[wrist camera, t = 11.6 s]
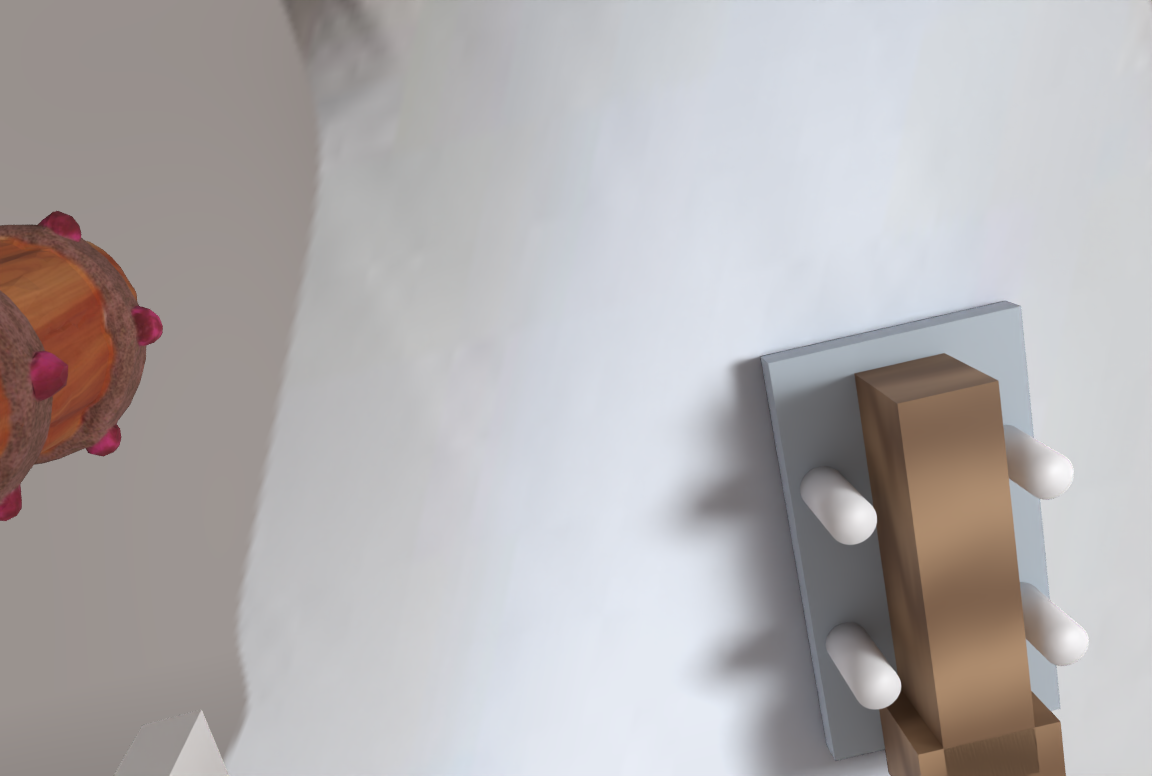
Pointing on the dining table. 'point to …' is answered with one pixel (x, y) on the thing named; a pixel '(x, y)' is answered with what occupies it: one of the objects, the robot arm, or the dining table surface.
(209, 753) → the robot arm
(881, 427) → the wooden toy mallet
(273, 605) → the dining table surface
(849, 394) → the rack
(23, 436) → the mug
